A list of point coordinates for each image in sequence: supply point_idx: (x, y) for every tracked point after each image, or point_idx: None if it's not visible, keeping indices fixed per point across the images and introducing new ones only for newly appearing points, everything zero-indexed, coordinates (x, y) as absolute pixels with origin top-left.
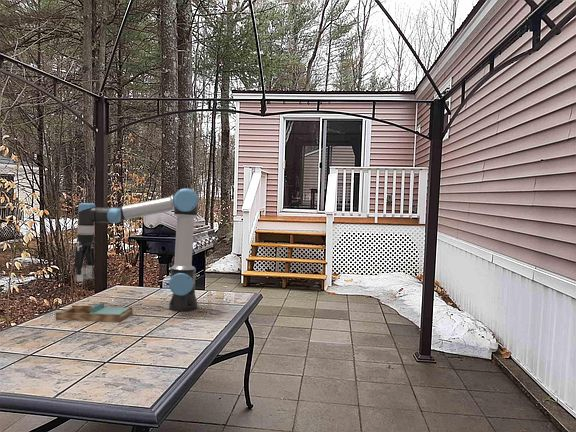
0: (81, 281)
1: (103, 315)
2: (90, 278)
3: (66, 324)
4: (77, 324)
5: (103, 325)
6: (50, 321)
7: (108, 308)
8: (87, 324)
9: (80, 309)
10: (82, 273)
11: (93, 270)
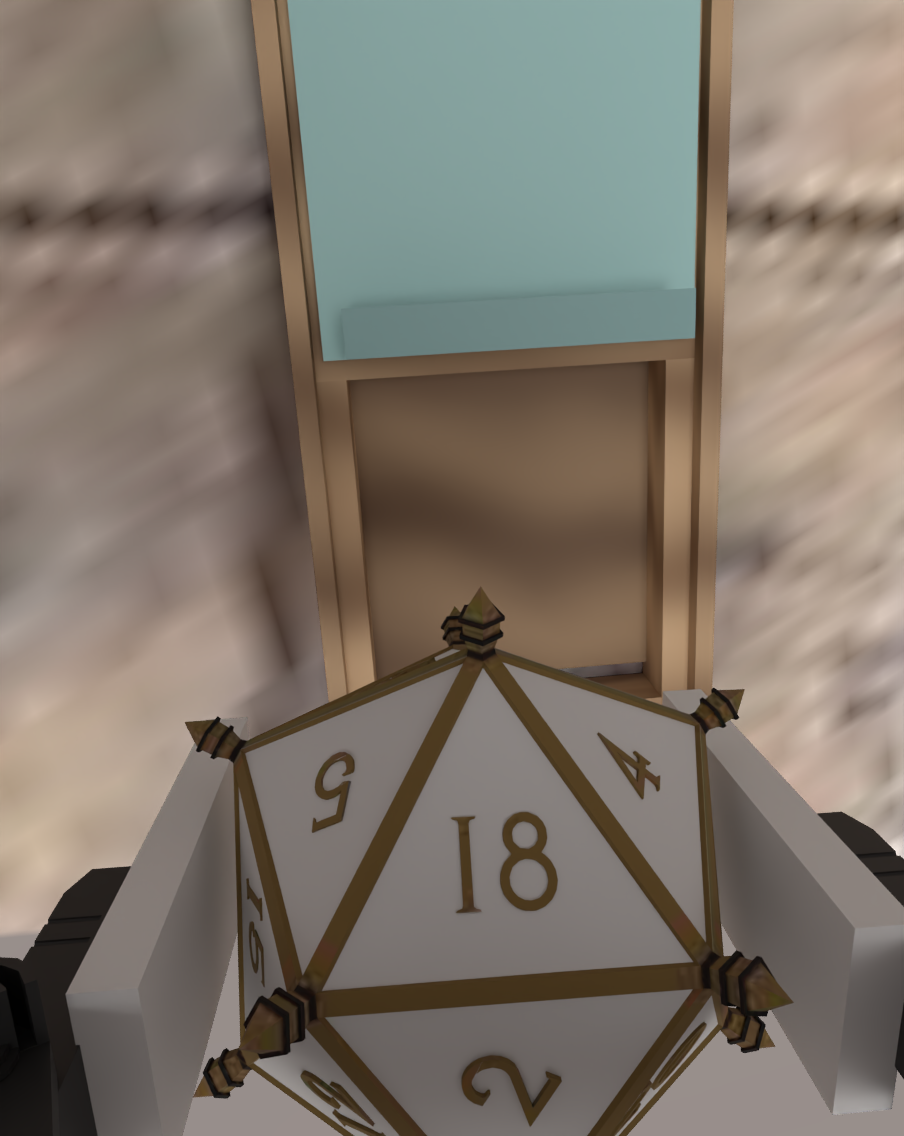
0: (699, 701)
1: (725, 109)
2: (247, 737)
3: (843, 491)
4: (835, 377)
5: (855, 39)
6: (750, 706)
7: (390, 214)
8: (827, 264)
9: (371, 636)
10: (790, 798)
11: (482, 641)
